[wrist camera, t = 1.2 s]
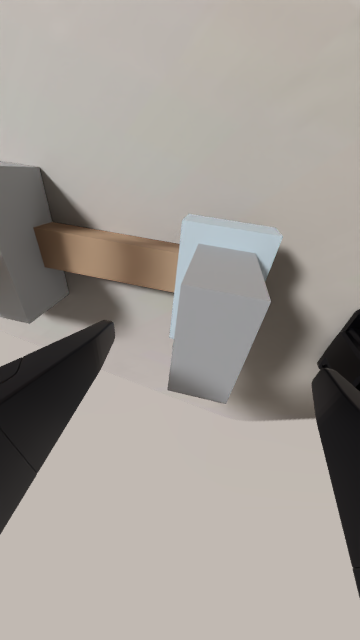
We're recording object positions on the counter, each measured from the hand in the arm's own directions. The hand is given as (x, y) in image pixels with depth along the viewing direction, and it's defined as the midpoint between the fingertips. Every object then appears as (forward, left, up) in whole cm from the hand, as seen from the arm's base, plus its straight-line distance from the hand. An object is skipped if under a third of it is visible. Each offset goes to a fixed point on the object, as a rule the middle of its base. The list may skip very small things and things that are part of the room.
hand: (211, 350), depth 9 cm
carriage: (0, 0, -7) cm, 7 cm away
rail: (+6, 0, -9) cm, 11 cm away
